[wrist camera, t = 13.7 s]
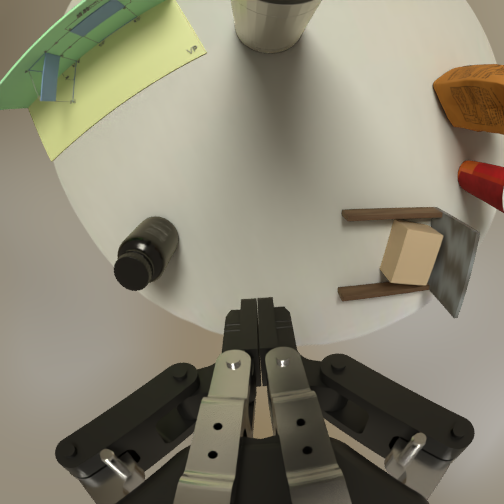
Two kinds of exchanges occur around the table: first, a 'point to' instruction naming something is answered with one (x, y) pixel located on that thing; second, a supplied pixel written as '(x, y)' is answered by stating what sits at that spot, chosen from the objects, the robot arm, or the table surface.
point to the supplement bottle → (145, 253)
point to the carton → (410, 253)
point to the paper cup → (483, 182)
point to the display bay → (446, 264)
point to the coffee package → (473, 97)
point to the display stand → (96, 64)
